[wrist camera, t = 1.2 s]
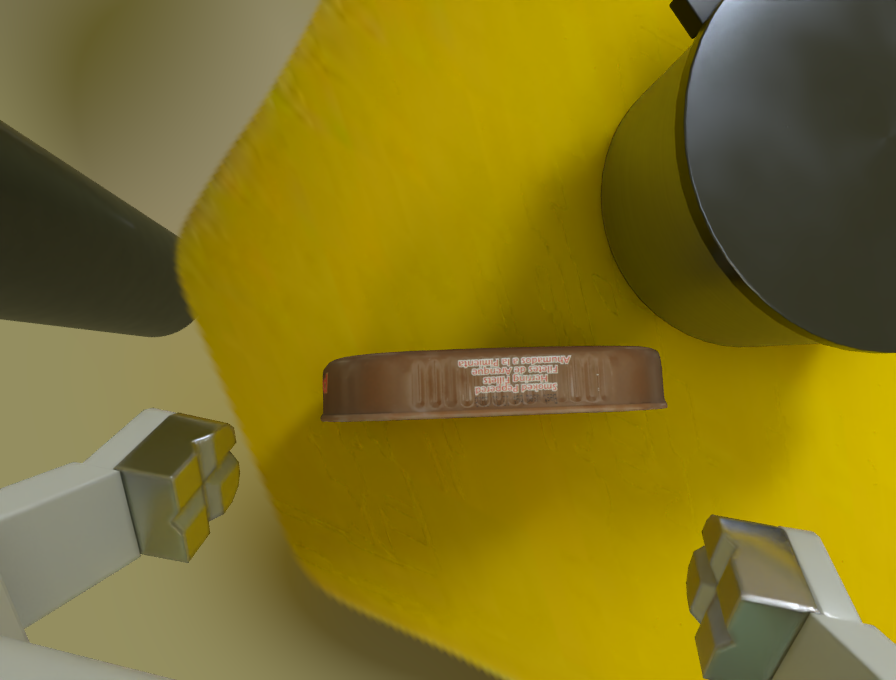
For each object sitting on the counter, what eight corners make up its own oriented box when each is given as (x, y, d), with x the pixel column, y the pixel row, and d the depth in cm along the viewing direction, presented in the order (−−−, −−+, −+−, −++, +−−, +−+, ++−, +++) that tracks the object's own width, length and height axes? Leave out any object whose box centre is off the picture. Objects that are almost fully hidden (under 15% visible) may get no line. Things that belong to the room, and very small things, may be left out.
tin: (328, 418, 29) (310, 441, 21) (327, 355, 29) (308, 351, 21) (617, 407, 31) (708, 423, 23) (615, 348, 31) (704, 342, 23)
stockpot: (516, 141, 31) (578, 45, 21) (752, -22, 33) (902, -174, 24) (724, 436, 32) (871, 466, 22) (942, 258, 34) (1158, 218, 24)
